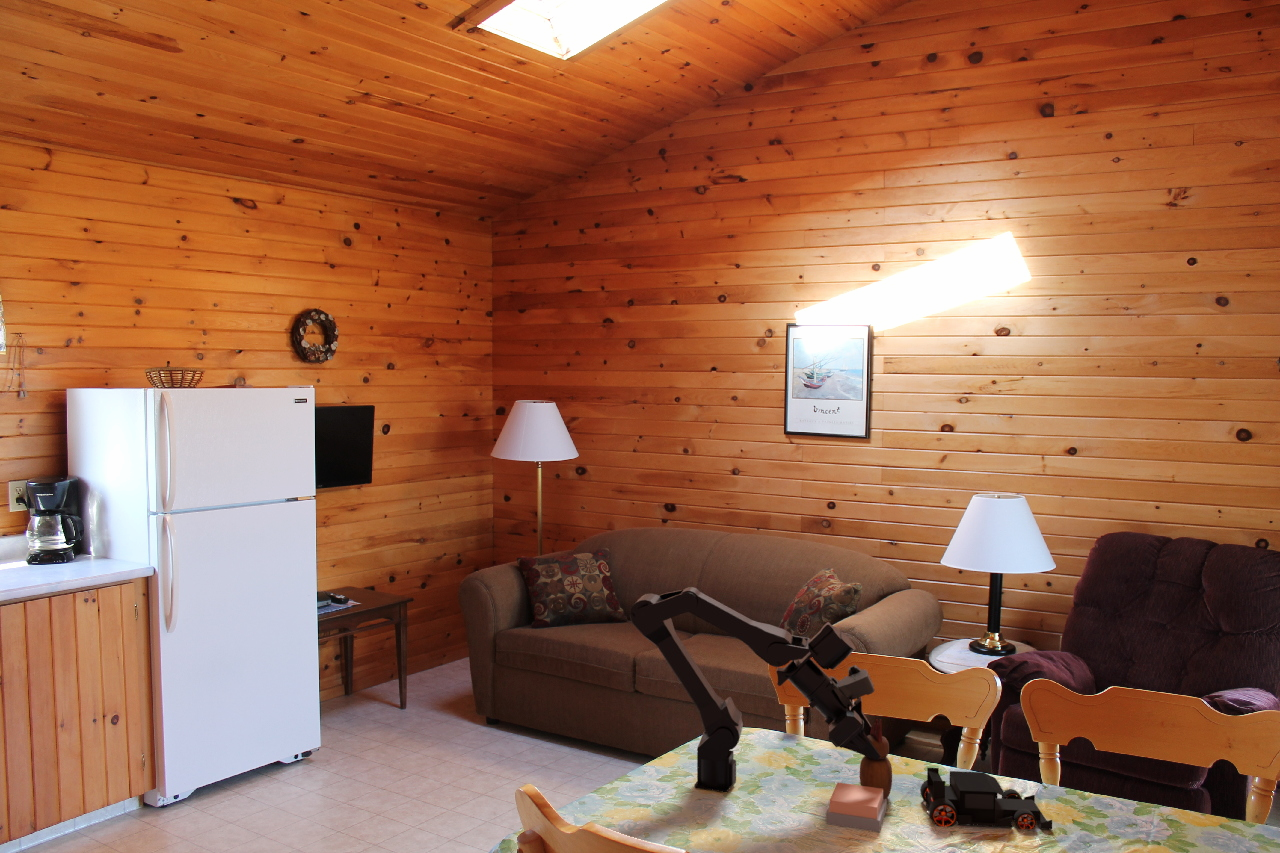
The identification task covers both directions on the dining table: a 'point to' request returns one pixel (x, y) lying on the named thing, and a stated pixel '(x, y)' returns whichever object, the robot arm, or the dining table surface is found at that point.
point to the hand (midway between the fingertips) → (877, 748)
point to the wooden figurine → (877, 763)
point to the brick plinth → (856, 820)
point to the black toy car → (977, 802)
